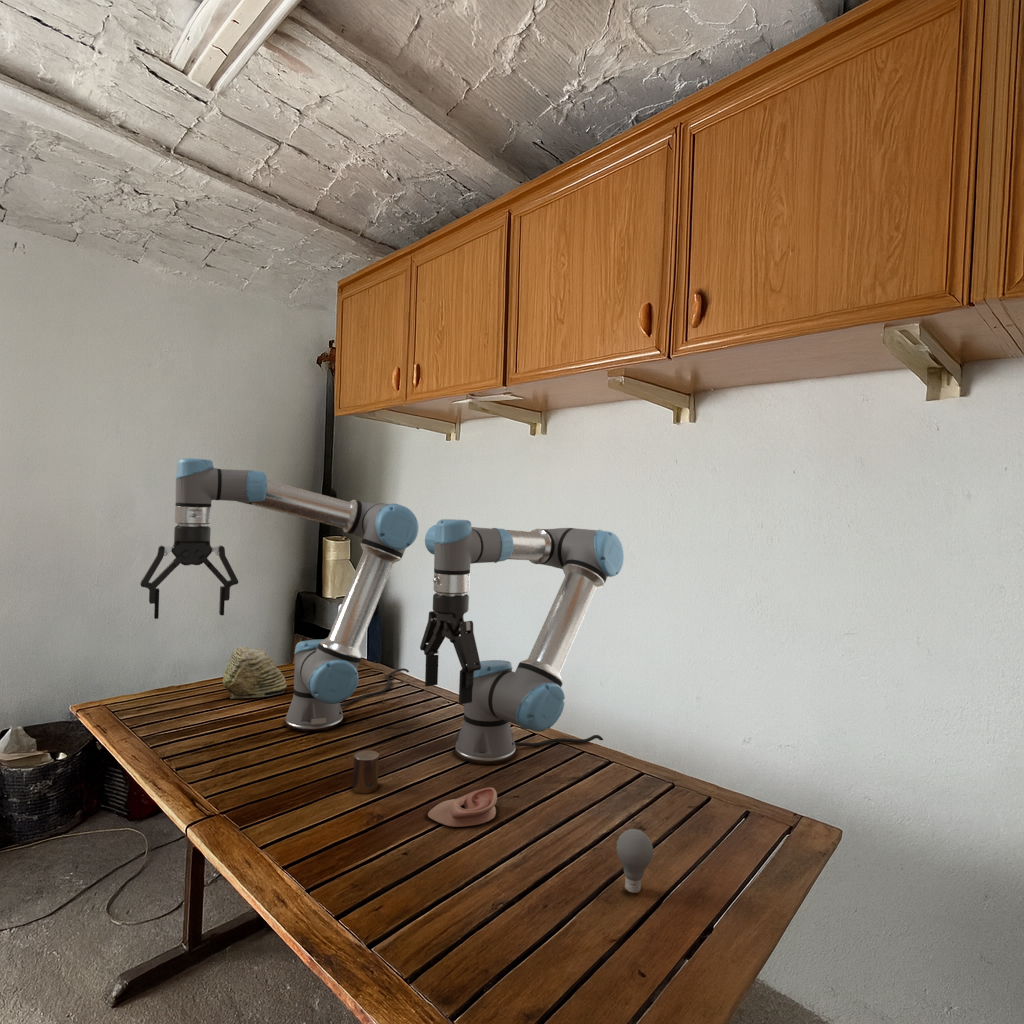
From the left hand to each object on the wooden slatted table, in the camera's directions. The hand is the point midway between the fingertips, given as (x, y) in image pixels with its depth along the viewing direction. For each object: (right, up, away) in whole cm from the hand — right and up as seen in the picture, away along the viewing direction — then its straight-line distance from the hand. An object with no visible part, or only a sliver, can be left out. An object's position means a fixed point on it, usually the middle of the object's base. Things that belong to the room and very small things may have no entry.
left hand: (189, 616), depth 148 cm
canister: (+43, -36, -9) cm, 57 cm away
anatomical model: (+65, -37, -19) cm, 77 cm away
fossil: (-5, -33, +51) cm, 61 cm away
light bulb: (+95, -39, -42) cm, 111 cm away
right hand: (+62, -14, -14) cm, 65 cm away
